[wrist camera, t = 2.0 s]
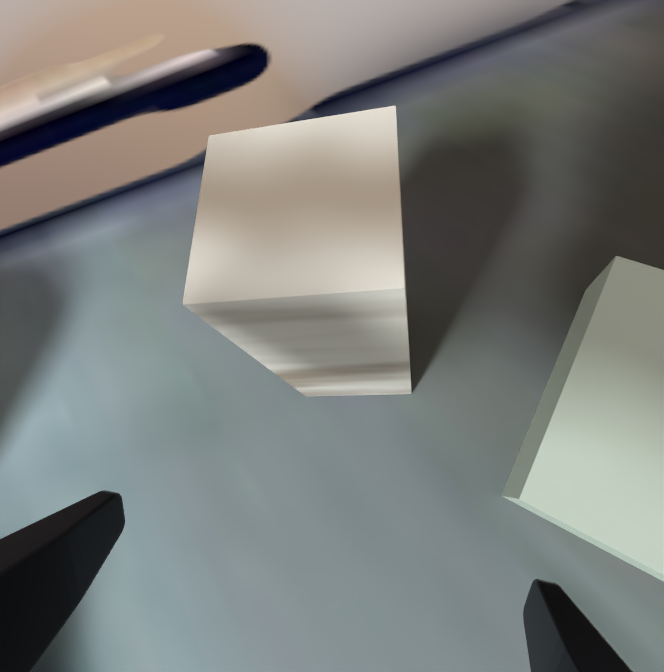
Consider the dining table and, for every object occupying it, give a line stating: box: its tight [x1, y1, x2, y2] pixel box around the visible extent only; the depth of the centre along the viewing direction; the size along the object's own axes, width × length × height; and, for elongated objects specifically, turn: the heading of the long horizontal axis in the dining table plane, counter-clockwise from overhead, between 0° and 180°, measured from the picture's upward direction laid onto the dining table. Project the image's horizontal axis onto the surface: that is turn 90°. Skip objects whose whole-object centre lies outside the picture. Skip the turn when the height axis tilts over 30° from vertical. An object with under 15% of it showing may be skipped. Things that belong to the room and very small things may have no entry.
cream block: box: [182, 106, 412, 396], centre depth 17 cm, size 6×6×13 cm
